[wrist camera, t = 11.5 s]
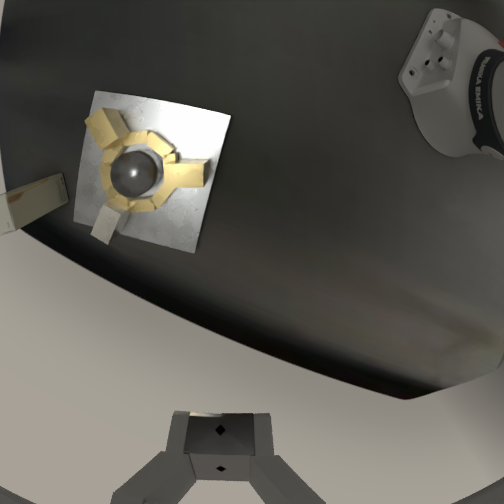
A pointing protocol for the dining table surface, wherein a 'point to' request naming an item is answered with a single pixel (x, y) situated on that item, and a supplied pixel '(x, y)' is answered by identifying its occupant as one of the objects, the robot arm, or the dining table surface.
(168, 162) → the ring nut
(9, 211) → the skincare box
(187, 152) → the housing
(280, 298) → the dining table surface
